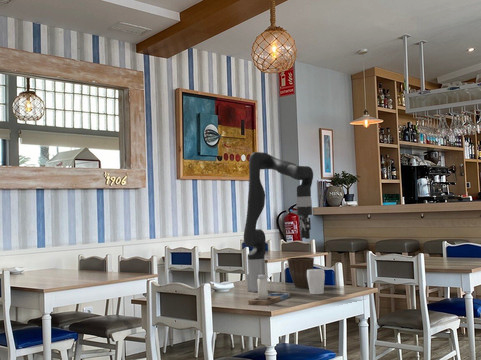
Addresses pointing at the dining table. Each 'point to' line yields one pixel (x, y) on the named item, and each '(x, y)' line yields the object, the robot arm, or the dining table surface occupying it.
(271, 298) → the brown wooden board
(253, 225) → the robot arm
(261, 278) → the salt mill
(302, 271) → the plant pot
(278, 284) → the dining table surface
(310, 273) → the cup
